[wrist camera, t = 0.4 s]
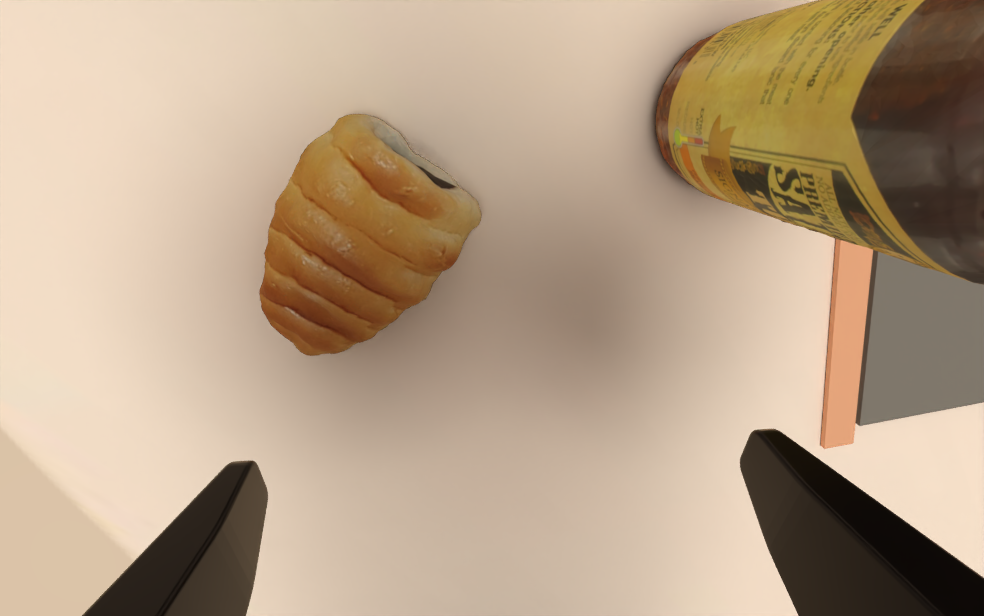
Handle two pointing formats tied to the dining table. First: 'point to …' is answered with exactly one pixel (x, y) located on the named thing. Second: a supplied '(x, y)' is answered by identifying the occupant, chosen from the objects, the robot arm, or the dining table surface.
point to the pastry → (359, 236)
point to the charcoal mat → (919, 342)
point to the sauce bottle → (843, 124)
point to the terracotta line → (845, 342)
